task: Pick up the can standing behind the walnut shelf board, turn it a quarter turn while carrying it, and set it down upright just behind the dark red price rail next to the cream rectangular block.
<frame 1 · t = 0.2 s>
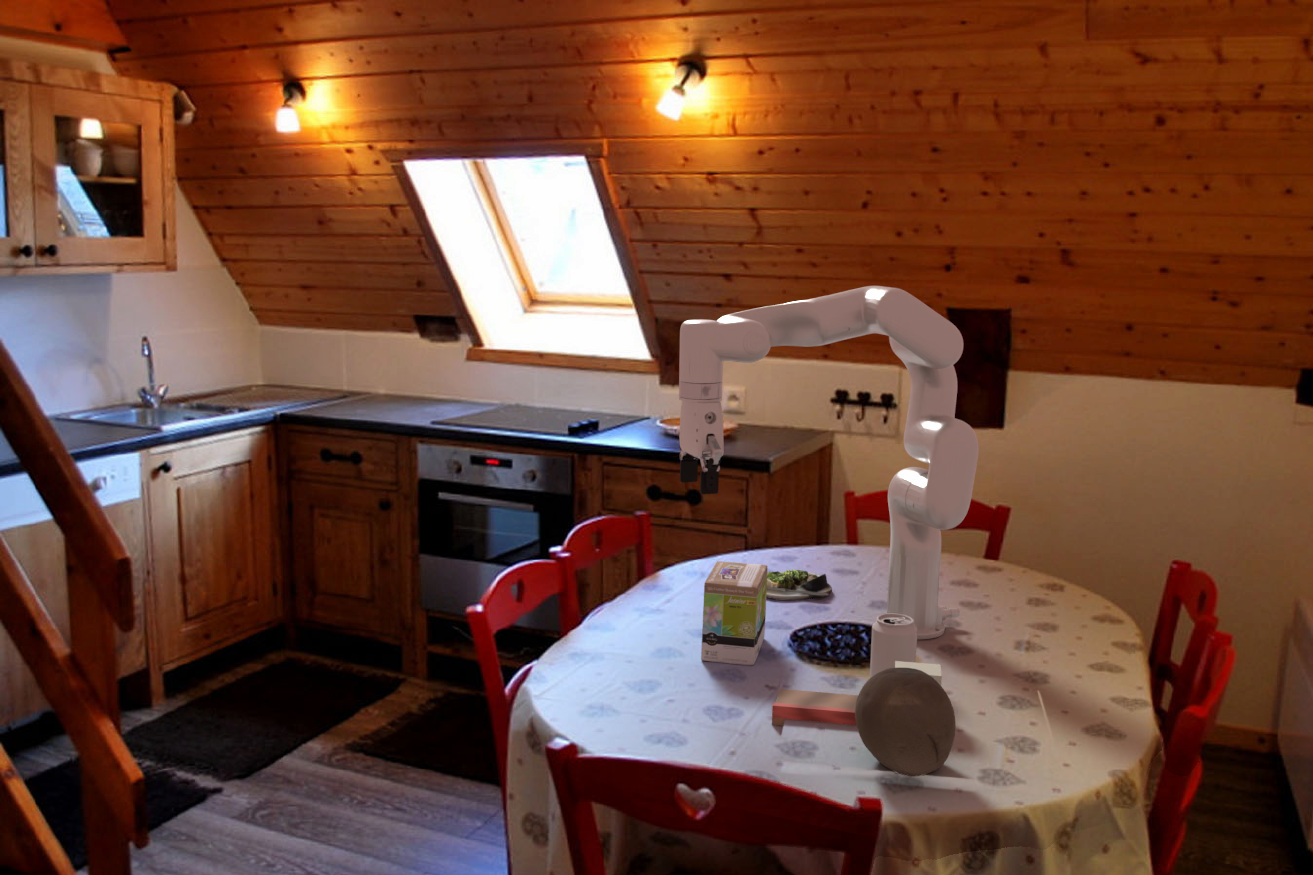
hand: (698, 487, 215), 31 cm above the table, tool pointing down, fingers open, 9 cm apart
salad plate: (792, 591, 260), on the table
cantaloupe: (901, 772, 176), on the table
can: (891, 686, 207), on the table
shelf board: (857, 716, 194), on the table
tea box: (733, 650, 224), on the table
cream rectangular block: (915, 716, 192), point 1 cm above the table, touching shelf board
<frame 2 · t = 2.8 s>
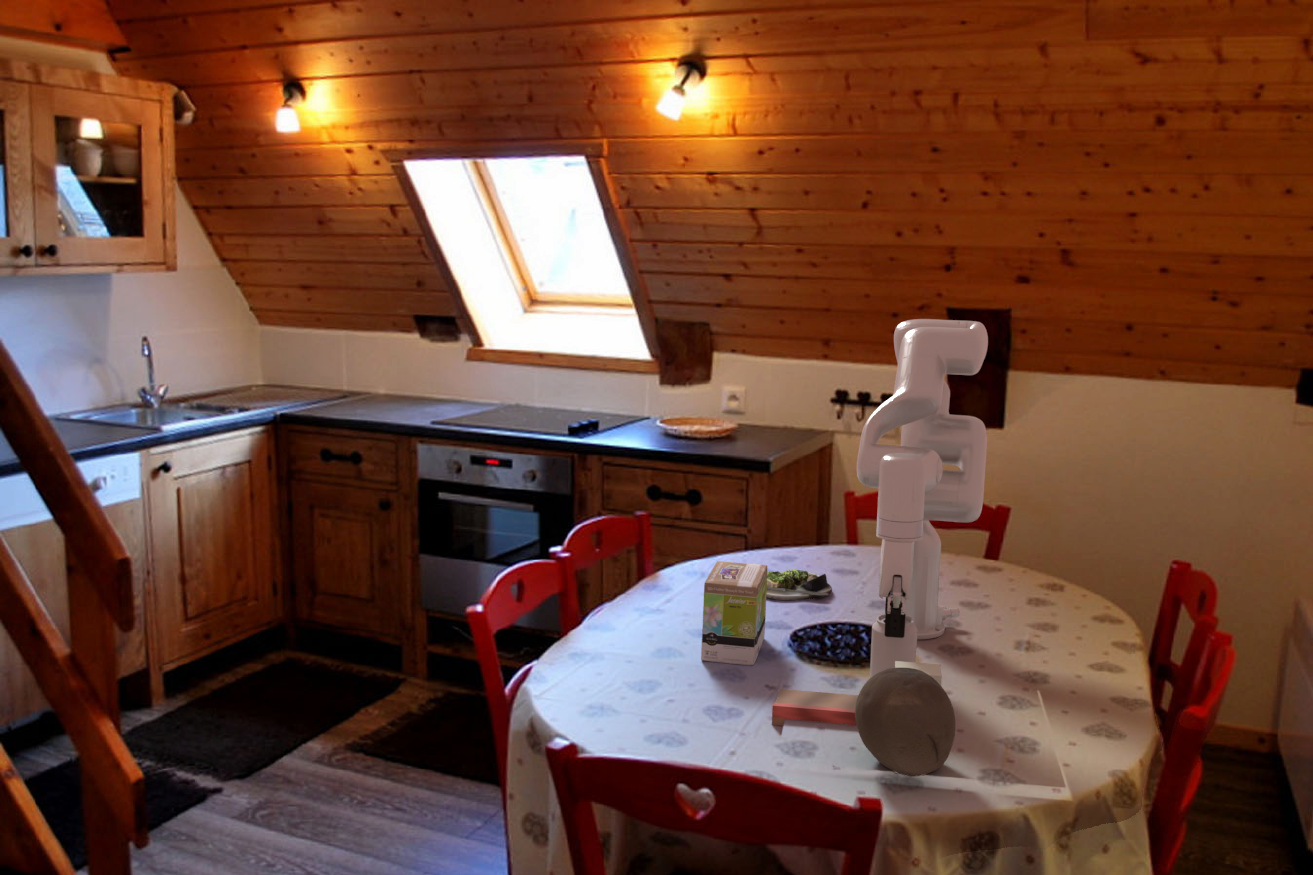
hand: (894, 627, 205), 10 cm above the table, tool pointing down, fingers open, 9 cm apart
can: (891, 686, 207), on the table, touching gripper
everything else where it was.
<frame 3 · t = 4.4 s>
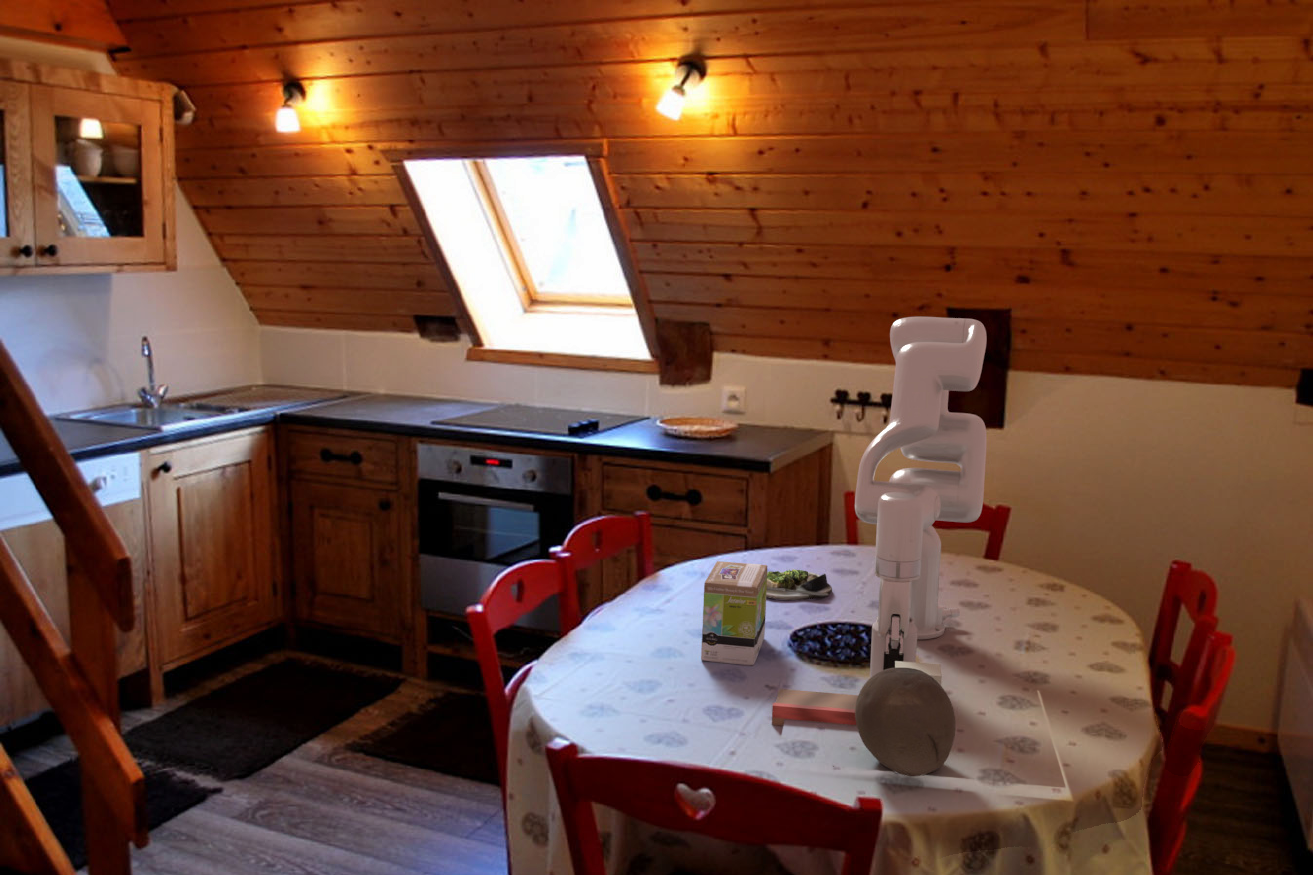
hand: (892, 666, 207), 3 cm above the table, tool pointing down, fingers closed on can, 7 cm apart
can: (891, 686, 207), on the table, touching gripper
everything else where it was.
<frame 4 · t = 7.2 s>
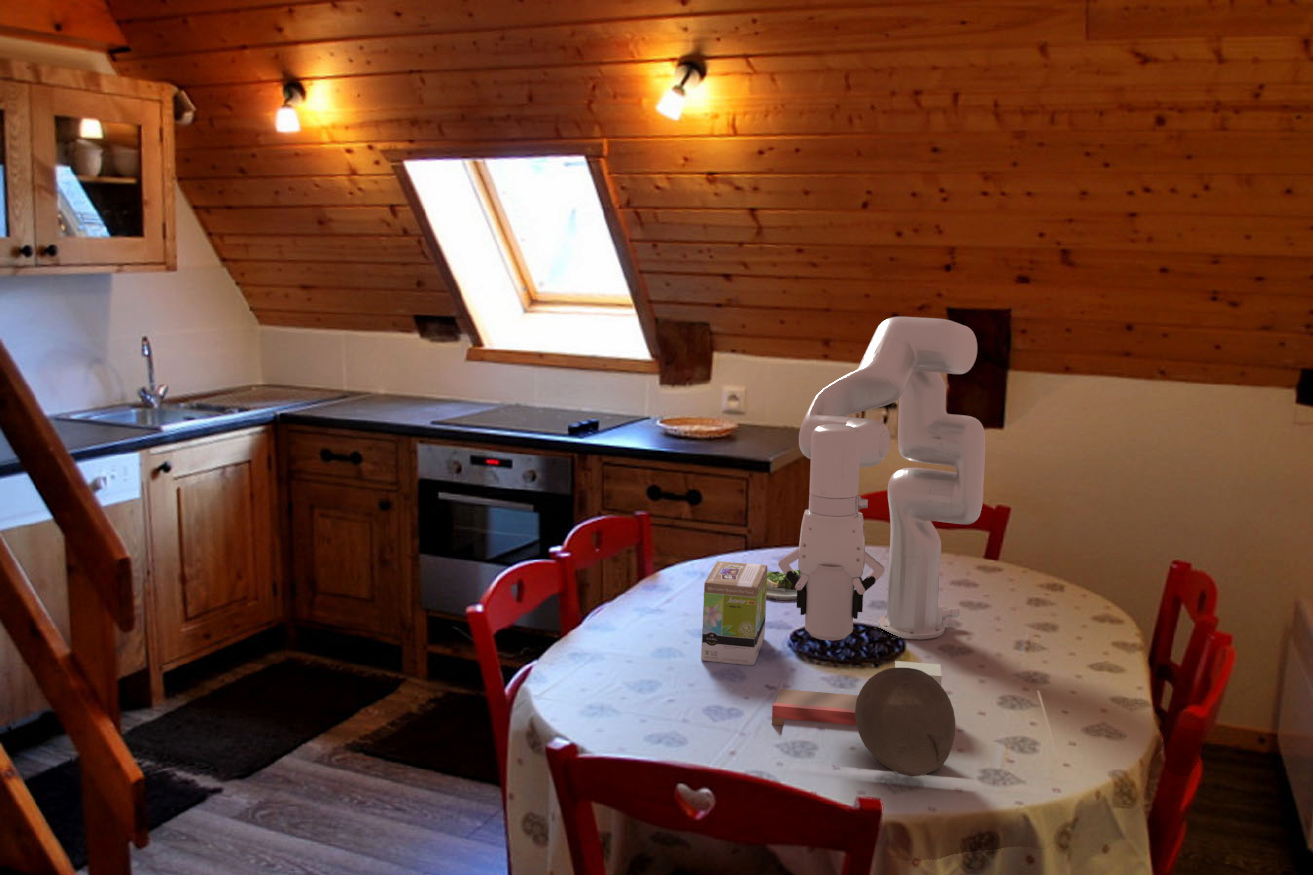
hand: (829, 613, 192), 17 cm above the table, tool pointing down, fingers closed on can, 7 cm apart
can: (828, 635, 192), point 13 cm above the table, touching gripper
everything else where it was.
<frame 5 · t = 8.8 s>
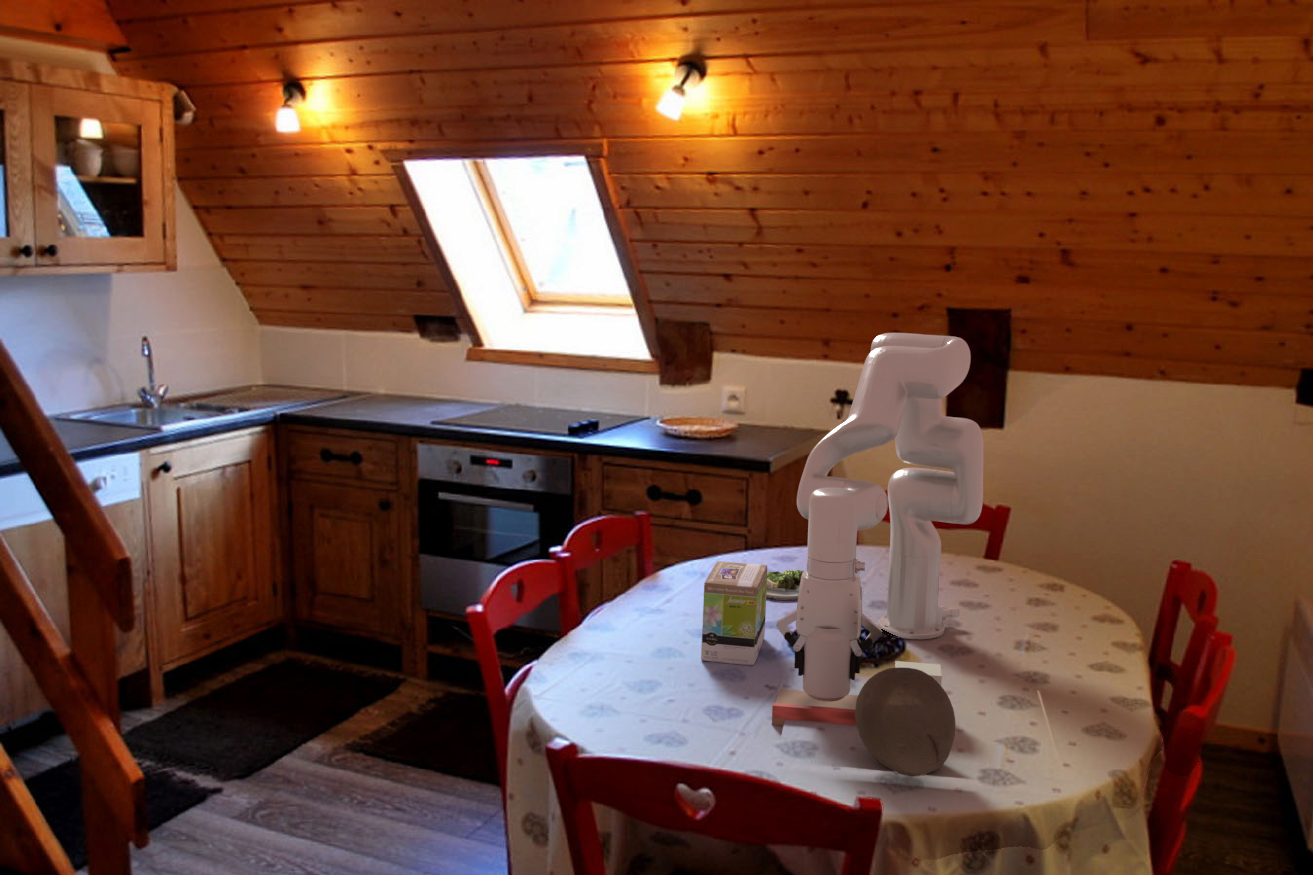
hand: (826, 674, 193), 7 cm above the table, tool pointing down, fingers closed on can, 7 cm apart
can: (825, 695, 194), point 3 cm above the table, touching gripper
everything else where it was.
when the fingers open (6 cm above the table, at t = 10.1 s): can drops 1 cm, resting on shelf board.
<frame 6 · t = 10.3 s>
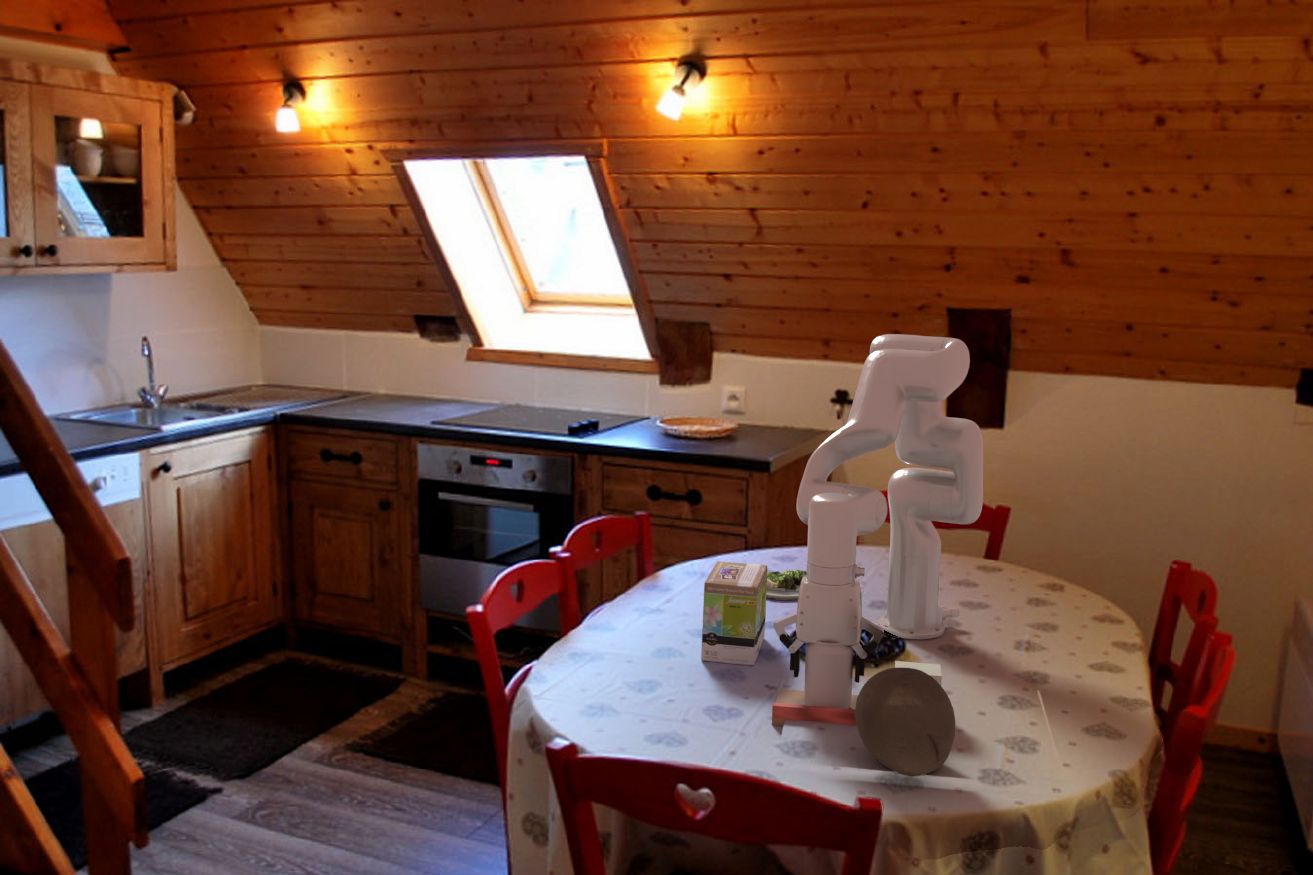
hand: (826, 676, 193), 6 cm above the table, tool pointing down, fingers open, 9 cm apart
can: (827, 708, 195), point 1 cm above the table, touching shelf board
everything else where it was.
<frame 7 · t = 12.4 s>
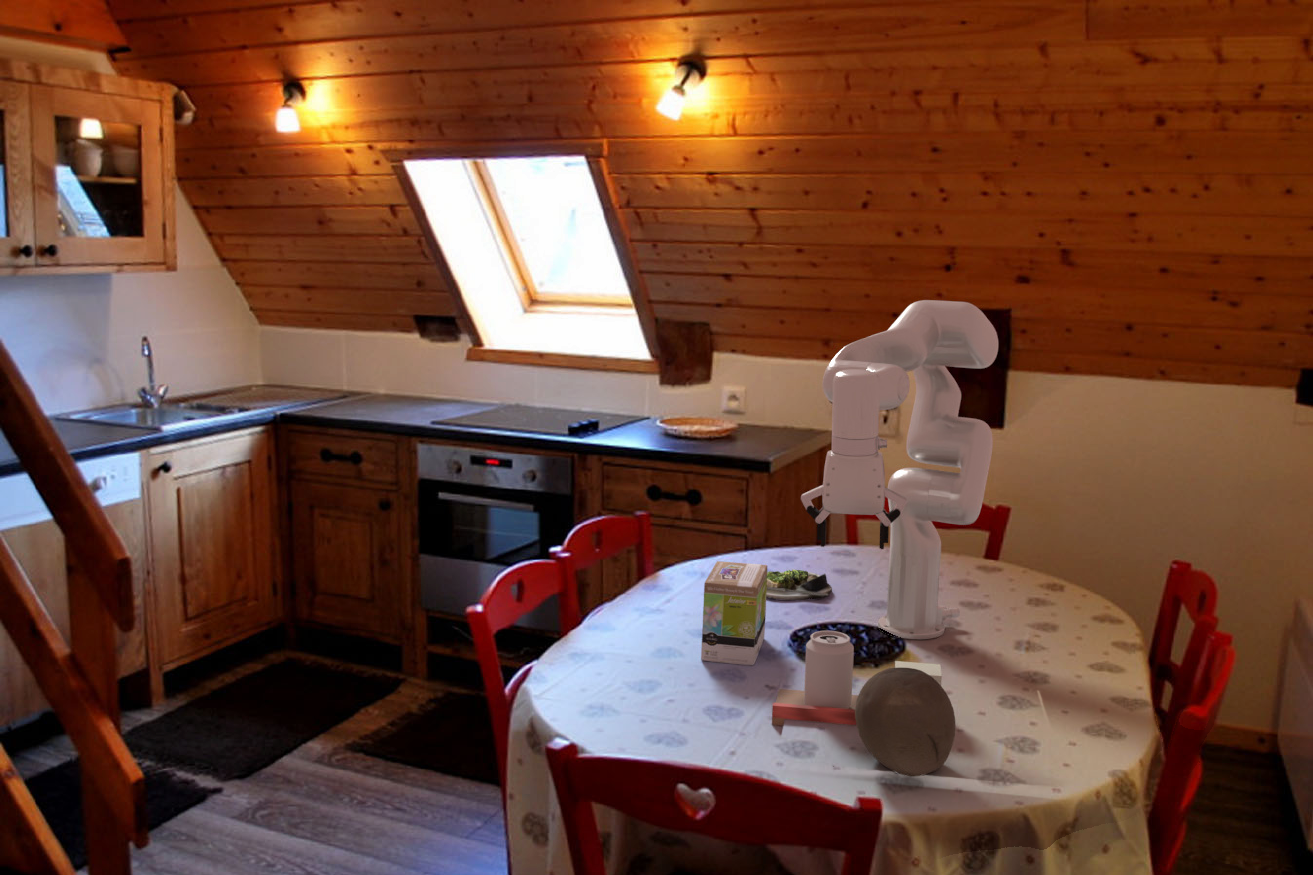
hand: (852, 545, 203), 24 cm above the table, tool pointing down, fingers open, 9 cm apart
nothing on the table moved.
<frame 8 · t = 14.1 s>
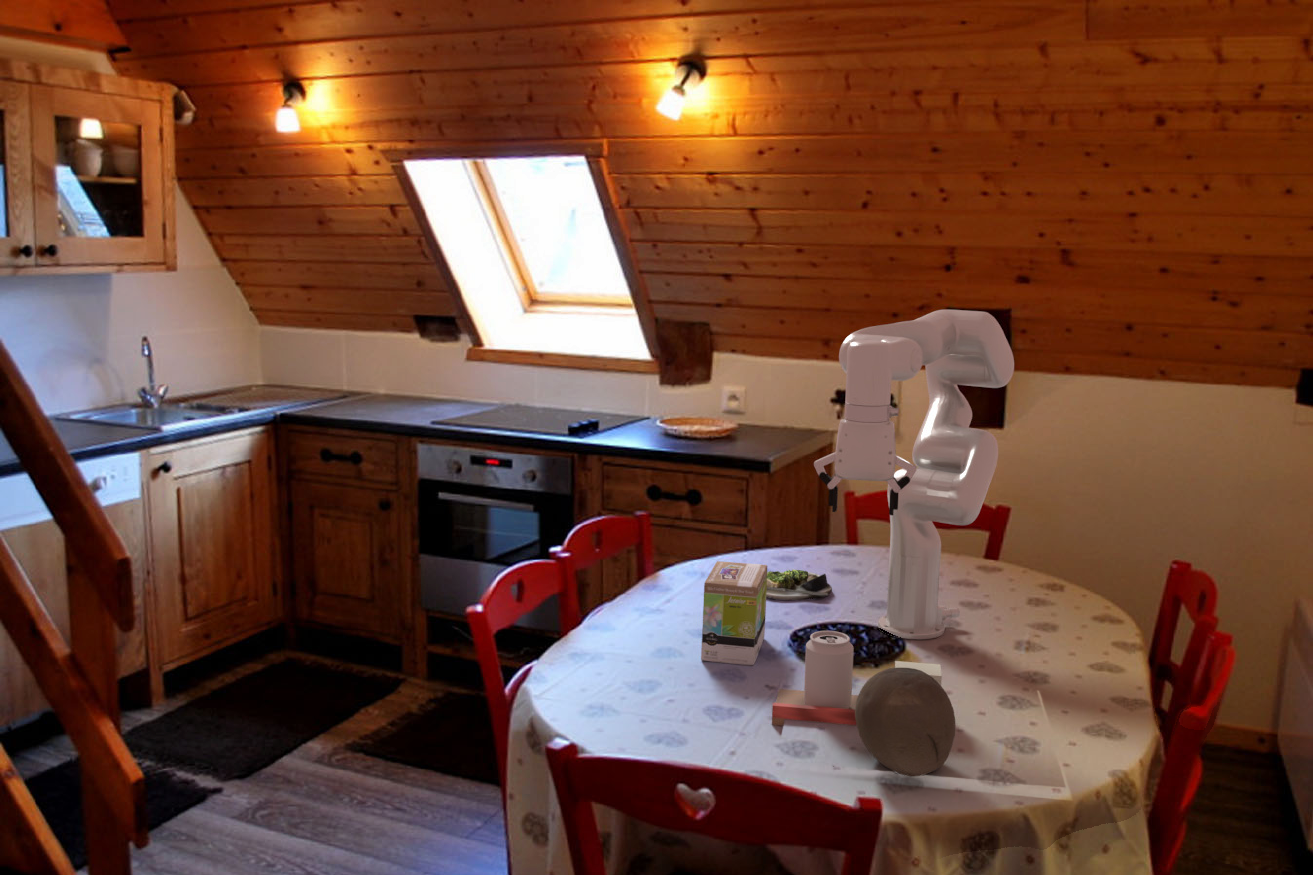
hand: (862, 511, 210), 28 cm above the table, tool pointing down, fingers open, 9 cm apart
nothing on the table moved.
at the end: can inside the target area (0.5 cm from its centre), point 1.0 cm above the table; can tilted 0°; the gripper is holding nothing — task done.
